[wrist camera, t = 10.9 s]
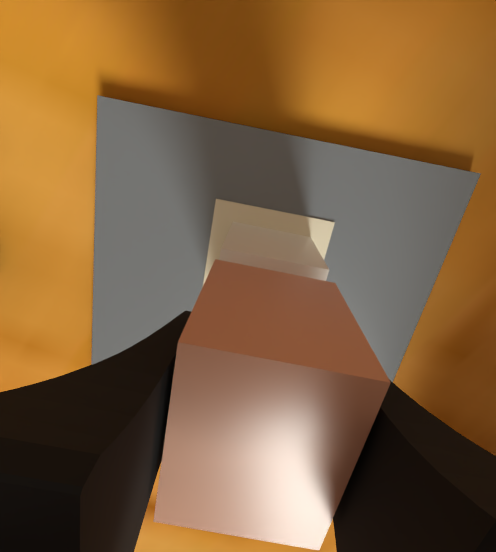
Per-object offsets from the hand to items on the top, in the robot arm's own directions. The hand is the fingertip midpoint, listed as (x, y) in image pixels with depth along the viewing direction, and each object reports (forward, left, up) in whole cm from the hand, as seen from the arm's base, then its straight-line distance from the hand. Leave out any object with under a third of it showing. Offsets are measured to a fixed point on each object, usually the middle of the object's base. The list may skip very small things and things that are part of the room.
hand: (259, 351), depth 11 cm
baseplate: (0, +3, -8) cm, 9 cm away
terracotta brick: (0, 0, -1) cm, 1 cm away
